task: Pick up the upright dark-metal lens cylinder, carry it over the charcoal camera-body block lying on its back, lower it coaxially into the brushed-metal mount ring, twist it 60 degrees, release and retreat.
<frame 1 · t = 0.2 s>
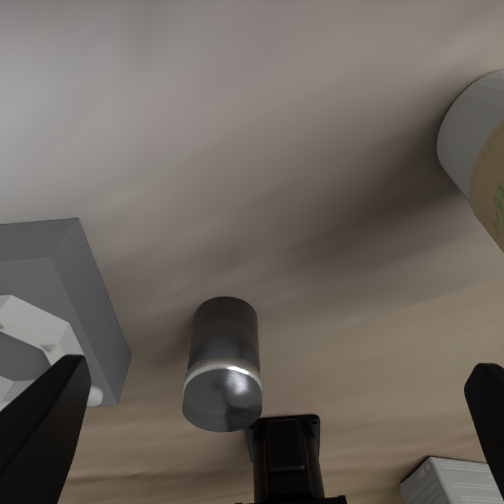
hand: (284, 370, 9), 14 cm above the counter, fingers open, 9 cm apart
lens: (226, 320, 27), on the counter
camera body: (41, 302, 26), on the counter
skincare box: (448, 470, 40), on the counter
coffee cup: (492, 129, 20), on the counter
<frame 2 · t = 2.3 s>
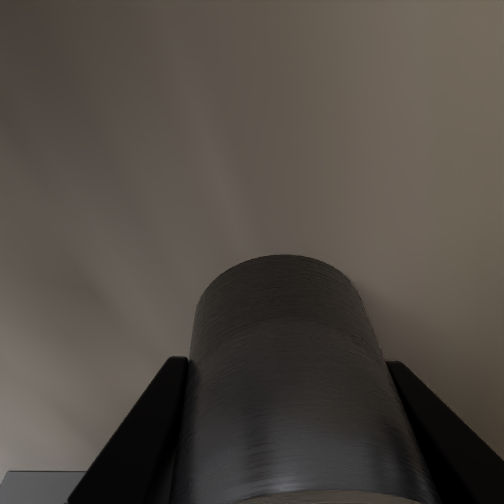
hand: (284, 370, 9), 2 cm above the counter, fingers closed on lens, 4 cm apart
lens: (278, 323, 10), on the counter, touching gripper
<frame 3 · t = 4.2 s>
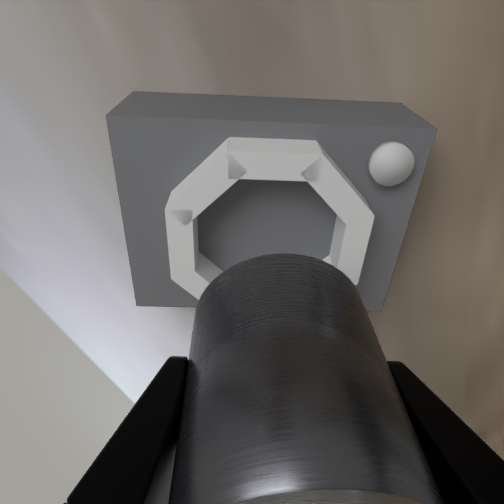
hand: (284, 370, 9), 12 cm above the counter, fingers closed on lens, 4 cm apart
lens: (278, 323, 10), point 11 cm above the counter, touching gripper
camera body: (262, 189, 20), on the counter
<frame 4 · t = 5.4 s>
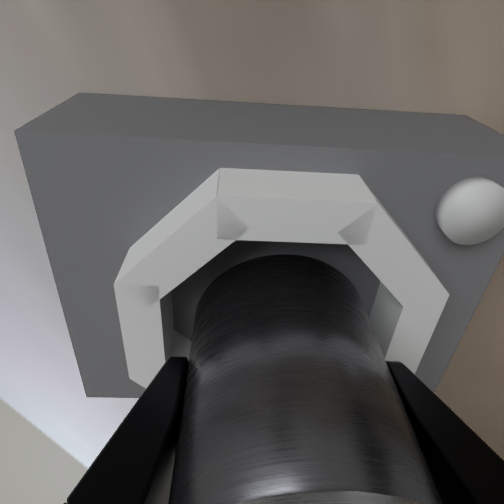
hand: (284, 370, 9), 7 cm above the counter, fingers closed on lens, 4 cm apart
lens: (278, 323, 10), point 5 cm above the counter, touching gripper
camera body: (266, 230, 14), on the counter
when the fingers open (6 cm above the counter, at t = 6.3 s): lens stays where it is, resting on camera body.
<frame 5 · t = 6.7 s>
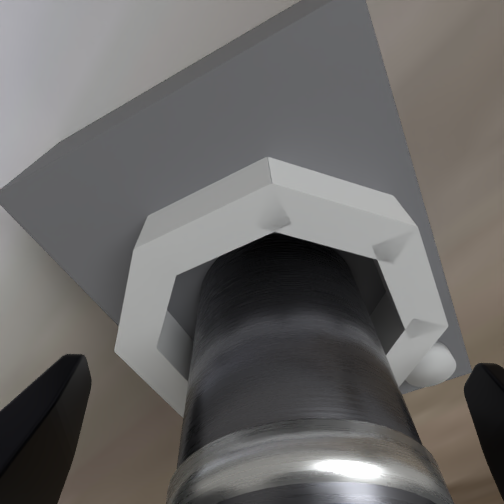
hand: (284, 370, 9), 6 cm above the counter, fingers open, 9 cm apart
lens: (277, 300, 11), point 4 cm above the counter, touching camera body
camera body: (266, 229, 14), on the counter
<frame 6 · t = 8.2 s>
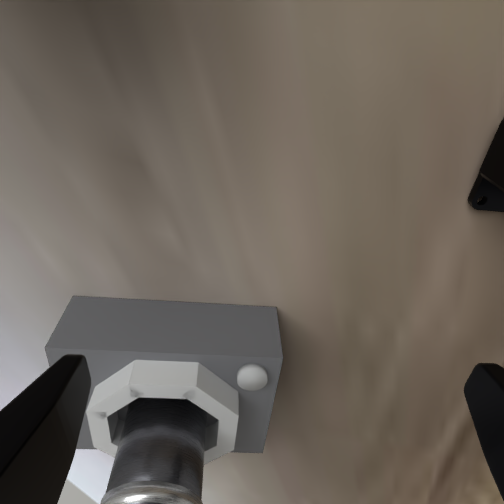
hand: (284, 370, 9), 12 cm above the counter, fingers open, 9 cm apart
lens: (168, 406, 22), point 4 cm above the counter, touching camera body
camera body: (177, 353, 25), on the counter
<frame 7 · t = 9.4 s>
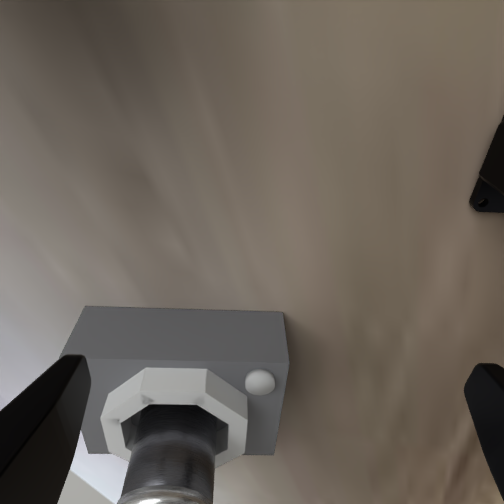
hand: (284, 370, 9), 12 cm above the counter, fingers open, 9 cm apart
lens: (180, 411, 23), point 4 cm above the counter, touching camera body
camera body: (187, 359, 26), on the counter
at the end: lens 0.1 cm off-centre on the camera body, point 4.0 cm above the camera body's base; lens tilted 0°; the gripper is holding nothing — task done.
